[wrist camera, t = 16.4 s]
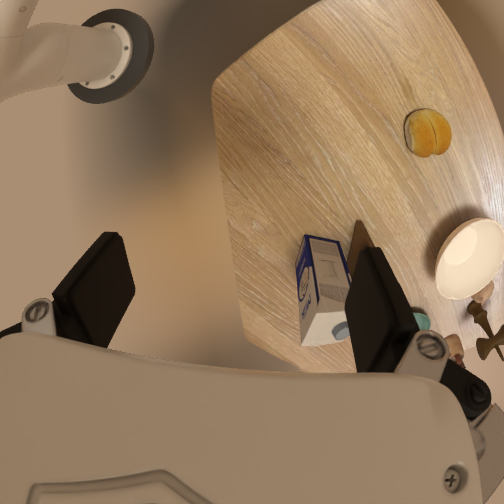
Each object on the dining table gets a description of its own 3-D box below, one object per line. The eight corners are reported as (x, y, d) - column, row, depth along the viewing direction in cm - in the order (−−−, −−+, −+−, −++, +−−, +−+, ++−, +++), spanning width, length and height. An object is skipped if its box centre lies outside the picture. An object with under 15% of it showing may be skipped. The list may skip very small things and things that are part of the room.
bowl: (501, 233, 46) (516, 249, 40) (451, 291, 56) (462, 310, 50) (463, 185, 42) (482, 199, 36) (406, 257, 52) (418, 278, 46)
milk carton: (304, 233, 51) (316, 313, 34) (339, 240, 51) (364, 319, 34) (295, 264, 55) (300, 347, 38) (327, 270, 55) (344, 352, 38)
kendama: (460, 305, 58) (490, 364, 42) (487, 290, 55) (520, 345, 39) (459, 318, 61) (486, 375, 44) (486, 304, 58) (515, 357, 41)
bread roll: (448, 150, 39) (459, 156, 36) (407, 157, 41) (417, 164, 38) (442, 105, 35) (454, 109, 31) (399, 111, 37) (409, 114, 34)
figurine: (437, 352, 69) (448, 383, 59) (440, 338, 66) (453, 371, 56) (456, 344, 67) (468, 374, 57) (460, 331, 64) (474, 362, 54)
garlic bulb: (478, 268, 52) (494, 289, 45) (489, 275, 53) (504, 295, 46) (463, 288, 55) (476, 310, 49) (474, 294, 56) (487, 315, 49)
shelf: (299, 275, 56) (302, 311, 48) (307, 216, 49) (314, 246, 41) (347, 277, 56) (357, 312, 47) (361, 220, 48) (377, 251, 40)
